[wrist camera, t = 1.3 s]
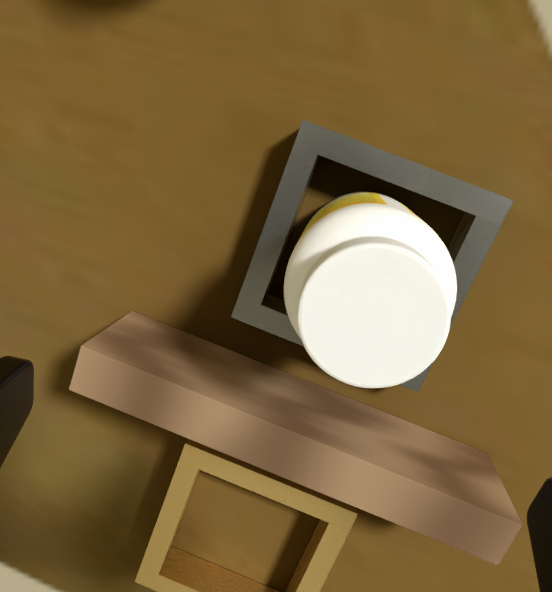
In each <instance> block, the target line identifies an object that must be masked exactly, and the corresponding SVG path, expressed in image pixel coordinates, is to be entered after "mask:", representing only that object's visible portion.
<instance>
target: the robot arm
mask: <svg viewBox="0 0 552 592" xmlns="http://www.w3.org/2000/svg"><path fill="white" fill-rule="evenodd" d="M33 398H34V367H33V364H32V362H31V361H29V360H26V359H22V358H17V357H13V356H5V357H2V358H0V468H1V466H2V464H3V462H4V460H5V458H6V456H7V454H8V453H9V451H10V449H11V447H12V445H13V443H14V441H15V440H16V438H17V436H18V434H19V432H20V430H21V428H22V426H23V425H24V423H25V421H26V419H27V417H28V415H29V413H30V411H31V408H32V405H33ZM527 525H528V530H529V535H530V541H531V546H532V551H533V557H534V562H535V567H536V573H537V578H538V583H539V589H540V592H552V477H550V478H548V479H547V480H546V481H545V482H544V484H543V486H542V487H541V489H540V490H539V492H538V494H537V495H536V497H535V498H534V500H533V502H532V503H531V505H530V507H529V509H528V512H527Z"/></svg>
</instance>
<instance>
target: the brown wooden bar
mask: <svg viewBox="0 0 552 592" xmlns="http://www.w3.org/2000/svg"><path fill="white" fill-rule="evenodd" d="M69 390H71V391H73V392H76V393H78V394H81V395H83V396H85V397H88V398H90V399H93V400H95V401H98V402H100V403H103V404H105V405H107V406H110V407H112V408H115V409H117V410H120V411H122V412H125V413H127V414H129V415H132V416H134V417H137V418H139V419H142V420H144V421H147V422H149V423H151V424H154V425H156V426H159V427H161V428H164V429H166V430H168V431H171V432H173V433H176V434H178V435H181V436H183V437H186V438H188V439H190V440H193V441H195V442H198V443H200V444H203V445H205V446H208V447H210V448H212V449H215V450H217V451H220V452H222V453H225V454H227V455H230V456H232V457H234V458H237V459H239V460H242V461H244V462H247V463H249V464H252V465H254V466H256V467H259V468H261V469H264V470H266V471H269V472H271V473H273V474H276V475H278V476H281V477H283V478H286V479H288V480H291V481H293V482H295V483H298V484H300V485H303V486H305V487H308V488H310V489H313V490H315V491H317V492H320V493H322V494H325V495H327V496H330V497H332V498H335V499H337V500H339V501H342V502H344V503H347V504H349V505H352V506H354V507H357V508H359V509H361V510H364V511H366V512H369V513H371V514H374V515H376V516H378V517H381V518H383V519H386V520H388V521H391V522H393V523H396V524H398V525H400V526H403V527H405V528H408V529H410V530H413V531H415V532H418V533H420V534H422V535H425V536H427V537H430V538H432V539H435V540H437V541H440V542H442V543H444V544H447V545H449V546H452V547H454V548H457V549H459V550H461V551H464V552H466V553H469V554H471V555H474V556H476V557H479V558H481V559H483V560H486V561H488V562H491V563H493V564H496V565H498V564H499V562H500V561H501V559H502V558H503V556H504V554H505V553H506V551H507V549H508V548H509V546H510V544H511V543H512V541H513V540H514V538H515V536H516V535H517V533H518V531H519V530H520V528H521V526H522V523H521V521H520V519H519V517H518V515H517V513H516V510H515V508H514V506H513V504H512V502H511V500H510V498H509V496H508V494H507V492H506V490H505V488H504V486H503V484H502V482H501V480H500V478H499V475H498V473H497V471H496V469H495V467H494V465H493V463H492V461H491V459H490V457H489V455H488V454H487V453H485V452H482V451H480V450H477V449H475V448H472V447H470V446H467V445H465V444H462V443H460V442H457V441H455V440H452V439H450V438H447V437H445V436H442V435H440V434H438V433H435V432H433V431H430V430H428V429H425V428H423V427H420V426H418V425H415V424H413V423H410V422H408V421H405V420H403V419H400V418H398V417H395V416H393V415H390V414H388V413H385V412H383V411H380V410H378V409H375V408H373V407H370V406H368V405H365V404H363V403H360V402H358V401H355V400H353V399H351V398H348V397H346V396H343V395H341V394H338V393H336V392H333V391H331V390H328V389H326V388H323V387H321V386H318V385H316V384H313V383H311V382H308V381H306V380H303V379H301V378H298V377H296V376H293V375H291V374H288V373H286V372H283V371H281V370H278V369H276V368H273V367H271V366H268V365H266V364H263V363H261V362H259V361H256V360H254V359H251V358H249V357H246V356H244V355H241V354H239V353H236V352H234V351H231V350H229V349H226V348H224V347H221V346H219V345H216V344H214V343H211V342H209V341H206V340H204V339H201V338H199V337H196V336H194V335H191V334H189V333H186V332H184V331H181V330H179V329H176V328H174V327H172V326H169V325H167V324H164V323H162V322H159V321H157V320H154V319H152V318H149V317H147V316H144V315H142V314H139V313H137V312H134V311H131V312H130V313H128V314H127V315H125V316H124V317H122V318H121V319H120V320H118V321H117V322H115V323H114V324H112V325H111V326H109V327H108V328H106V329H105V330H103V331H102V332H100V333H99V334H98V335H96V336H95V337H93V338H92V339H90V340H89V341H87V342H86V343H84V344H83V345H81V348H80V352H79V355H78V359H77V362H76V366H75V369H74V373H73V377H72V380H71V384H70V387H69Z"/></svg>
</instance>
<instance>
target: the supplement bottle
mask: <svg viewBox="0 0 552 592" xmlns="http://www.w3.org/2000/svg"><path fill="white" fill-rule="evenodd" d="M456 295H457V279H456V273H455V268H454V264H453V261H452V258H451V256H450V254H449V252H448V250H447V248H446V246H445V244H444V243H443V241H442V240H441V239H440V237H439V236H438V235H437V234H436V232H435V231H434V230H433V229H432V228H431V227H430V226H429V225H428V224H426V223H425V222H424V221H423V220H422V219H421V218H419V217H418V216H417V215H415V214H414V213H413V212H412V211H411V210H409V209H408V208H407V207H406V206H405V205H403V204H402V203H400V202H398V201H397V200H395V199H393V198H391V197H389V196H386V195H384V194H379V193H375V192H354V193H349V194H345V195H342V196H340V197H337V198H335V199H333V200H332V201H330V202H328V203H327V204H325V205H324V206H323V207H322V208H321V209H319V210H318V211H317V213H316V214H315V215H314V216H313V217H312V218H311V220H310V221H309V223H308V224H307V226H306V228H305V230H304V232H303V233H302V235H301V237H300V239H299V240H298V242H297V244H296V246H295V248H294V250H293V252H292V254H291V257H290V259H289V262H288V265H287V269H286V273H285V279H284V300H285V306H286V310H287V314H288V317H289V319H290V322H291V324H292V326H293V328H294V329H295V331H296V333H297V334H298V336H299V337H300V339H301V340H302V343H303V345H304V347H305V349H306V351H307V353H308V354H309V356H310V357H311V358H312V360H313V361H314V362H315V363H316V364H317V365H318V366H319V367H320V368H321V369H322V370H323V371H325V372H326V373H327V374H329V375H330V376H332V377H334V378H335V379H337V380H339V381H341V382H344V383H346V384H349V385H352V386H357V387H362V388H384V387H390V386H395V385H398V384H401V383H404V382H406V381H408V380H410V379H412V378H414V377H416V376H417V375H419V374H420V373H421V372H423V371H424V370H425V369H426V368H427V367H428V366H429V365H430V364H431V363H432V362H433V361H434V360H435V359H436V357H437V356H438V355H439V353H440V352H441V350H442V348H443V346H444V344H445V342H446V339H447V336H448V333H449V328H450V322H451V316H452V313H453V310H454V307H455V302H456Z"/></svg>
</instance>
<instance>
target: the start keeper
mask: <svg viewBox="0 0 552 592" xmlns="http://www.w3.org/2000/svg"><path fill="white" fill-rule="evenodd" d="M320 156H323V157H325V158H328V159H331V160H333V161H336V162H338V163H341V164H343V165H346V166H349V167H351V168H354V169H356V170H359V171H362V172H364V173H367V174H369V175H372V176H375V177H377V178H380V179H382V180H385V181H387V182H390V183H393V184H395V185H398V186H400V187H403V188H406V189H408V190H411V191H413V192H416V193H419V194H421V195H424V196H426V197H429V198H431V199H434V200H437V201H439V202H442V203H444V204H447V205H450V206H452V207H455V208H457V209H460V210H463V211H465V212H464V214H463V216H462V219H461V221H460V223H459V225H458V227H457V229H456V231H455V233H454V236H453V238H452V240H451V242H450V244H449V246H448V248H447V250H448V252H449V254H450V256H451V258H452V261H453V264H454V268H455V273H456V279H457V295H456V302H455V307H454V310H453V313H452V316H451V322H450V327H451V325H452V323H453V321H454V319H455V317H456V315H457V313H458V311H459V309H460V307H461V305H462V303H463V301H464V299H465V297H466V295H467V293H468V291H469V289H470V287H471V285H472V283H473V281H474V279H475V277H476V275H477V273H478V271H479V269H480V267H481V265H482V263H483V261H484V259H485V257H486V255H487V253H488V250H489V248H490V246H491V244H492V242H493V240H494V238H495V236H496V234H497V232H498V230H499V228H500V226H501V224H502V222H503V220H504V218H505V216H506V214H507V212H508V210H509V208H510V206H511V204H512V202H513V200H511V199H508V198H505V197H503V196H500V195H498V194H495V193H492V192H490V191H487V190H485V189H482V188H479V187H477V186H474V185H472V184H469V183H466V182H464V181H461V180H459V179H456V178H453V177H451V176H448V175H446V174H443V173H440V172H438V171H435V170H433V169H430V168H427V167H425V166H422V165H420V164H417V163H414V162H412V161H409V160H407V159H404V158H401V157H399V156H396V155H394V154H391V153H388V152H386V151H383V150H381V149H378V148H375V147H373V146H370V145H368V144H365V143H362V142H360V141H357V140H355V139H352V138H349V137H347V136H344V135H342V134H339V133H336V132H334V131H331V130H329V129H326V128H323V127H321V126H318V125H316V124H313V123H310V122H308V121H305V120H303V121H302V123H301V126H300V129H299V132H298V134H297V137H296V140H295V143H294V145H293V148H292V151H291V154H290V156H289V159H288V162H287V165H286V167H285V170H284V173H283V175H282V178H281V181H280V184H279V186H278V189H277V192H276V195H275V197H274V200H273V203H272V206H271V208H270V211H269V214H268V217H267V219H266V222H265V225H264V228H263V230H262V233H261V236H260V239H259V241H258V244H257V247H256V250H255V252H254V255H253V258H252V261H251V263H250V266H249V269H248V271H247V274H246V277H245V280H244V282H243V285H242V288H241V291H240V293H239V296H238V299H237V302H236V304H235V307H234V310H233V313H232V315H231V317H232V318H234V319H237V320H239V321H242V322H244V323H247V324H249V325H252V326H254V327H257V328H259V329H262V330H264V331H267V332H269V333H272V334H274V335H277V336H279V337H282V338H284V339H287V340H289V341H292V342H294V343H297V344H299V345H302V346H304V345H303V343H302V340H301V339H300V337H299V336H298V334H297V333H296V331H295V329H294V328H293V326H292V324H291V322H290V319H289V317H288V314H287V310H286V306H285V300H282V299H280V298H277V297H275V296H272V295H270V294H268V291H269V288H270V286H271V283H272V281H273V278H274V275H275V273H276V270H277V267H278V265H279V262H280V260H281V257H282V254H283V252H284V249H285V246H286V244H287V241H288V239H289V236H290V233H291V231H292V228H293V225H294V223H295V220H296V218H297V215H298V212H299V210H300V207H301V204H302V202H303V199H304V197H305V194H306V191H307V189H308V186H309V183H310V181H311V178H312V176H313V173H314V170H315V168H316V165H317V162H318V160H319V157H320ZM449 329H450V328H449ZM432 363H433V362H432ZM432 363H431V364H430V365H429V366H428V367H427V368H426V369H425V370H424V371H423V372H421V373H420V374H419V375H417V376H416V377H414V378H412V379H410V380H408V381H406V382H404V383H401V384H399V385H402V386H404V387H407V388H409V389H412V390H414V391H417V392H419V389H420V387H421V385H422V383H423V381H424V379H425V377H426V375H427V373H428V371H429V369H430V367H431V365H432Z"/></svg>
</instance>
